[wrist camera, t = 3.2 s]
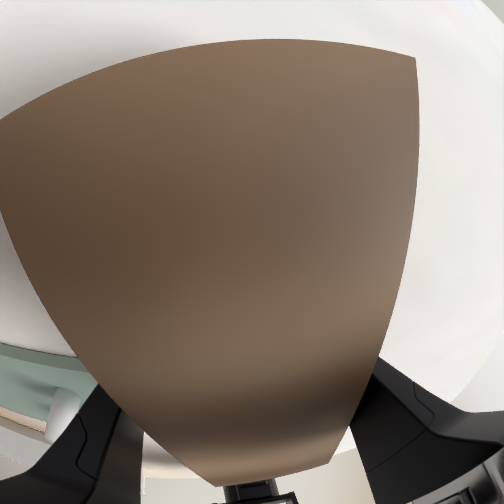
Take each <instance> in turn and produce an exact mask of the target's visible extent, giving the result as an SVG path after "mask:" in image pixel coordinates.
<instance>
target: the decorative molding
mask: <svg viewBox="0 0 504 504" xmlns="http://www.w3.org/2000/svg"><path fill="white" fill-rule="evenodd" d="M44 435H45V433H43V432H39V431H36V430H34V429H31V428H28V427H25V426H23V425H20V424H17V423H15V422H12V421H10V420H8V419H5V418H3V417H1V416H0V454H1V455H3V456H5V457H7V458H9V459H11V460H13V461H15V462H17V463H20V464H22V465H24V466H27V467H29V468H31V467H32V466H33V465H34V464H35V463H36V462H37V461H38V460H39V459H40V458H41V457H42V456H43V454H44V453H45V452H46V451H47V450H48V449H49V448H50V446H51V445H52V444H51V443H50V442H48V441H47V440H46V439H45V438H44ZM144 492H145V472H144V470H143V469H142V467H141V496H145V493H144Z"/></svg>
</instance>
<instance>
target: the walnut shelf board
mask: <svg viewBox="0 0 504 504" xmlns="http://www.w3.org/2000/svg"><path fill="white" fill-rule="evenodd" d="M418 158H419V95H418V80H417V69H416V60H415V58H414V57H410V56H407V55H403V54H399V53H395V52H390V51H386V50H381V49H376V48H371V47H365V46H359V45H353V44H345V43H337V42H328V41H316V40H299V39H256V40H239V41H227V42H217V43H209V44H202V45H195V46H189V47H183V48H178V49H173V50H168V51H164V52H159V53H155V54H151V55H147V56H143V57H139V58H136V59H132V60H129V61H125V62H122V63H119V64H116V65H113V66H110V67H107V68H104V69H101V70H98V71H96V72H93V73H90V74H88V75H85V76H83V77H80V78H78V79H76V80H73V81H71V82H69V83H66V84H64V85H62V86H60V87H58V88H56V89H54V90H52V91H50V92H48V93H46V94H44V95H42V96H40V97H38V98H36V99H34V100H32V101H31V102H29V103H27V104H25V105H24V106H22V107H20V108H19V109H17V110H15V111H14V112H12V113H10V114H9V115H7V116H6V117H4V118H3V119H1V120H0V210H1V213H2V216H3V219H4V222H5V224H6V227H7V230H8V232H9V235H10V238H11V240H12V243H13V245H14V247H15V250H16V252H17V254H18V257H19V259H20V261H21V263H22V265H23V267H24V269H25V272H26V274H27V276H28V278H29V280H30V282H31V283H32V285H33V287H34V289H35V291H36V293H37V295H38V296H39V298H40V300H41V302H42V304H43V305H44V307H45V309H46V310H47V312H48V314H49V315H50V317H51V319H52V320H53V322H54V323H55V325H56V327H57V328H58V330H59V331H60V333H61V334H62V336H63V337H64V339H65V340H66V342H67V343H68V344H69V346H70V347H71V349H72V350H73V351H74V353H75V354H76V355H77V357H78V358H79V359H80V361H81V362H82V363H83V365H84V366H85V367H86V369H87V370H88V371H89V372H90V374H91V375H92V376H93V377H94V379H95V380H96V381H97V382H98V383H99V384H100V386H101V387H102V388H103V389H104V390H105V391H106V393H107V394H108V395H109V396H110V397H111V398H112V399H113V400H114V401H115V403H116V404H117V405H118V406H119V407H120V408H121V409H122V410H123V411H124V412H125V413H126V414H127V415H128V416H129V417H130V418H131V419H132V420H133V421H134V422H135V423H136V424H137V425H138V426H139V427H140V428H141V429H142V430H143V431H145V432H146V433H147V434H148V435H149V436H150V437H151V438H152V439H153V440H154V441H156V442H157V443H158V444H159V445H160V446H161V447H163V448H164V449H165V450H166V451H167V452H169V453H170V454H171V455H172V456H173V457H175V458H176V459H177V460H179V461H180V462H181V463H182V464H184V465H185V466H186V467H188V468H189V469H190V470H192V471H193V472H194V473H196V474H197V475H199V476H200V477H202V478H203V479H204V480H206V481H207V482H209V483H210V484H212V485H214V486H215V487H219V486H229V485H237V484H244V483H250V482H256V481H262V480H267V479H272V478H276V477H281V476H285V475H289V474H293V473H297V472H301V471H304V470H308V469H312V468H315V467H318V466H322V465H325V464H328V463H329V461H330V459H331V458H332V456H333V454H334V452H335V451H336V449H337V447H338V445H339V443H340V441H341V440H342V438H343V436H344V434H345V432H346V430H347V428H348V426H349V424H350V422H351V420H352V418H353V416H354V414H355V411H356V409H357V407H358V405H359V403H360V400H361V398H362V396H363V394H364V391H365V389H366V386H367V384H368V382H369V379H370V377H371V374H372V372H373V369H374V366H375V364H376V361H377V358H378V356H379V353H380V350H381V347H382V344H383V341H384V338H385V335H386V332H387V329H388V326H389V322H390V319H391V316H392V312H393V309H394V305H395V301H396V298H397V294H398V290H399V286H400V282H401V278H402V273H403V269H404V264H405V259H406V254H407V249H408V244H409V238H410V232H411V226H412V219H413V212H414V204H415V196H416V186H417V174H418Z"/></svg>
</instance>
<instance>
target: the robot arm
mask: <svg viewBox="0 0 504 504" xmlns="http://www.w3.org/2000/svg"><path fill="white" fill-rule="evenodd" d="M78 413H79V414H78ZM78 413H76V415H75V416H74V418H73V419H72V420H71V422H70V423H69V424H68V426H67V427H66V429H65V430H64V431H63V432H62V434H61V435H60V436H59V437H58V438H57V440H56V441H55V442H54V443H53V444H52V445H51V446H50V448H49V449H48V450H47V451H46V452H45V453H44V454H43V456H42V457H41V458H40V459H39V460H38V461H37V462H36V463H35V464H34V465H33V466H32V467H31V468H30V469H29V470H27V471H26V472H24V473H22V474H19V475H16V476H13V477H10V478H7V479H4V480H0V504H141V502H140V501H141V466H142V449H143V435H144V431H143V430H142V429H141V428H140V427H139V426H138V425H137V424H136V423H135V422H134V421H133V420H132V419H131V418H130V417H129V416H128V415H127V414H126V413H125V412H124V411H123V410H122V409H121V408H120V407H119V406H118V405H117V404H116V403H115V401H114V400H113V399H112V398H111V397H110V396H109V395H108V394H107V393H106V391H105V390H104V389H103V388H102V387H101V386H100V384H99V383H98V384H97V385H96V387H95V388H94V390H93V391H92V392H91V394H90V395H89V397H88V398H87V399H86V401H85V402H84V404H83V405H82V406H81V408H80V409H79V411H78ZM349 426H350V429H351V432H352V435H353V437H354V440H355V443H356V446H357V448H358V451H359V454H360V457H361V460H362V463H363V466H364V469H365V472H366V476H367V479H368V481H369V485H370V488H371V491H372V493H373V497H374V500H375V503H376V504H406V503H409V502H411V501H412V503H413V504H504V411H493V412H479V413H470V412H465V411H462V410H460V409H458V408H456V407H455V406H453V405H451V404H449V403H447V402H446V401H444V400H442V399H440V398H439V397H437V396H435V395H434V394H432V393H430V392H429V391H427V390H426V389H424V388H423V387H421V386H420V385H418V384H417V383H415V382H414V381H413V382H412V380H411V379H410V378H408V377H407V376H405V375H404V374H403V373H401V372H400V371H398V370H397V369H395V368H394V367H393V366H391V365H390V364H388V363H387V362H386V361H384V360H383V359H381V358H380V357H379V356H378V358H377V361H376V364H375V366H374V369H373V372H372V374H371V377H370V379H369V382H368V384H367V386H366V389H365V391H364V394H363V396H362V398H361V400H360V403H359V405H358V407H357V409H356V411H355V414H354V416H353V418H352V420H351V422H350V424H349ZM223 488H224V494H225V499H226V503H223V504H279V503H284V502H286V504H299V503H298V501H297V499H296V496H295V493H294V492H289V493H288V494H284V495H279V493H278V489H277V485H276V482H275V478H272V479H267V480H262V481H256V482H250V483H244V484H237V485H229V486H223ZM212 504H217V503H212Z"/></svg>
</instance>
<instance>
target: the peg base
mask: <svg viewBox="0 0 504 504" xmlns="http://www.w3.org/2000/svg"><path fill="white" fill-rule="evenodd" d="M97 384H98V382H97V381H96V380H95V379H94V377H93V376H92V375H91V374H90V372H89V371H88V370H87V369H86V367H85V366H84V365H83V363H82V362H81V361H80V359H79V358H73V357H66V356H60V355H54V354H48V353H42V352H37V351H32V350H27V349H22V348H18V347H14V346H9V345H5V344H1V343H0V406H1V407H3V408H6V409H8V410H11V411H14V412H17V413H19V414H22V415H25V416H28V417H31V418H35V419H38V420H41V421H45V422H47V425H46V430H45V435H44V438H45V439H46V440H47V441H48V442H50V443H51V444H53V443H54V442H55V441H56V440H57V438H58V437H59V436H60V435H61V434H62V432H63V431H64V430H65V429H66V427H67V426H68V424H69V423H70V422H71V420H72V419H73V418H74V416H75V415H76V413H78V411H79V409H80V408H81V406H82V405H83V404H84V402H85V401H86V399H87V398H88V397H89V395H90V394H91V392H92V391H93V390H94V388H95V387H96V385H97ZM78 414H79V413H78Z"/></svg>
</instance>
